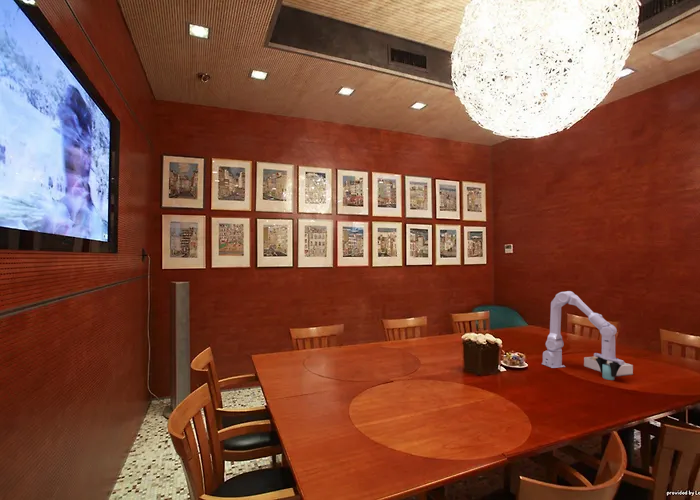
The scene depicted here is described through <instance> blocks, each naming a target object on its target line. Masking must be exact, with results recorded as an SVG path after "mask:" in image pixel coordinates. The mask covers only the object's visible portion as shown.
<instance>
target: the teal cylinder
mask: <svg viewBox="0 0 700 500" xmlns="http://www.w3.org/2000/svg"><path fill="white" fill-rule="evenodd" d="M601 374H602V375H601V376H602V378H603V379H604V380H608V381H614V380H615V378H616V377H612V376H611V367H610V364H608V363H603V364H602V373H601Z"/></svg>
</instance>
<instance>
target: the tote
mask: <svg viewBox="0 0 700 500" xmlns="http://www.w3.org/2000/svg"><path fill="white" fill-rule="evenodd" d="M592 357H593V356H584V357H583V366H584V368H585V367H586V368H587V369H592V370H594V371H597V372H600V373H601V370H600V367H599V364H598V363H597V361H595V360H592ZM609 363H613V362H611V361H608V364H609ZM633 372H634V365H633V364H630V363H626V362H624V365H621V366H620V368H619V369H618V372H617V374H616V377H622V376H632V375H634V373H633Z"/></svg>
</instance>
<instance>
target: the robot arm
mask: <svg viewBox="0 0 700 500" xmlns="http://www.w3.org/2000/svg"><path fill="white" fill-rule="evenodd" d="M566 304H568V305H572V306H575V307H577V308H578V309H579V310H580V311H581V312H582V313H584V314H585V315H586V316H587V317H588V318H587V319H588V321H589V322H590V323H591V324H592V325H593V326H594V327H595V328H597V329H598V330H599V333H600V335H601V353H598V352H594V353H593V357H598V358H597V359H596V361H597V363H598V364H599V367H600V370H601V372H600V373H601V374H602V364H603V363H607V360H608V361H611V362H613V363H609V364H610V367H611V376H612V377H615V378H616V377H617V376H616V374H617V372H618V369H619V368H620V366H621V365H624V363H625V361H624V360H622V359H619V358H617V357H616V334H617V331H618V330H617V327H616V326H615V325H614V324H611V323H610V322H609V321H607V320H606V319H605V318H604V317H603V315H602V314H600V313H598V312H594V311H593V310H592V309H591V308H590V307H589V306H588V305H587V304H586V303H585V302H583V300H582V299H581V298H580V297H579V296H578V295H577V294H575V293H574V292H573V291H571V290H567V291H560V292H558V293H556V294H555V297H554V298H553V299H552V300H551V302H550V316H549V317H550V318H549V319H550V320H549V334H548V335H547V339H546V341H545V348H546V349H547V350H545V351H543V352H542V362H541V365H544V366H546V367H549V368H551V369H556V368H558V369H559V368H566V366H565V365H564V364H563V355H562V354H563V353H562V352H563V350H562V348H563V347H564V340H563V336H562V333H561V332H562V331H561V327H562V326H561V325H562V323H561V322H562V307H564V306H565V305H566Z"/></svg>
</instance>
